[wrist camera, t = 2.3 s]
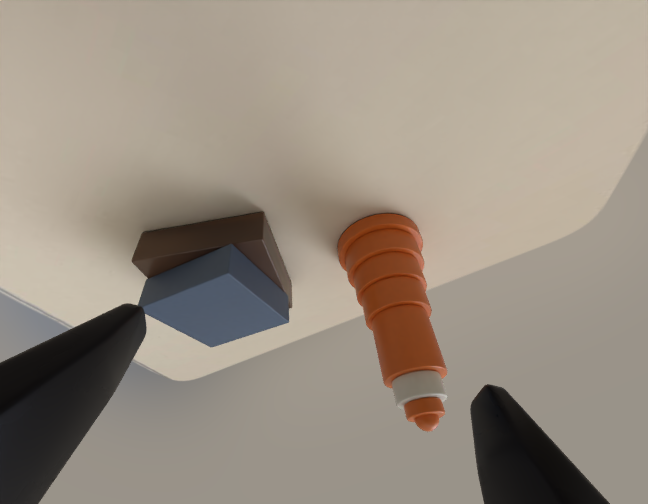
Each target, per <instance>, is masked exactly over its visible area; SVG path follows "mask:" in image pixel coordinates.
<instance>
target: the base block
mask: <svg viewBox="0 0 648 504" xmlns="http://www.w3.org/2000/svg"><path fill="white" fill-rule="evenodd" d="M229 244H233V245H234V246H235V247H236V248H237V249H238V250H239V251H240V252H241V253H242V254H244V255H245V256H246V257H247V258H248V259H249V260H250V261H251V262H252V263H253V264H254V265H256V266H257V267H258V268H259V269H260V270H261V271H262V272H263V273H264V274H265V275H266V276H267V277H269V278H270V279H271V280H272V281H273V282H274V283H275V284H276V285H277V286H278V287H279V288H281V289H282V290H283V291H284V292H285V293H286V294H287V295H288V300H289V308H292V285H291V281H290V278H289V275H288V273H287V270H286V268H285V265H284V263H283V260H282V257H281V255H280V252H279V250H278V247H277V245H276V242H275V239H274V237H273V234H272V232H271V229H270V227H269V224H268V221H267V219H266V216H265V214H264V212H259V213H254V214H248V215H242V216H236V217H231V218H225V219H219V220H213V221H207V222H202V223H196V224H190V225H184V226H179V227H173V228H167V229H161V230H156V231H150V232H144V233H142V234H141V237H140V240H139V242H138V245H137V248H136V250H135V253H134V255H133V258H132V262H133V264H134V265H135V266H136V267H137V268H138V269H139V270H140V271H141V272H142V273H143V274H144V275H145V276H146V277H147V278H148V279H149V278H151V277H154V276H156V275H158V274H161V273H163V272H165V271H168V270H170V269H172V268H175V267H177V266H180V265H182V264H184V263H187V262H189V261H191V260H194V259H196V258H198V257H201V256H203V255H206V254H208V253H210V252H213V251H215V250H217V249H220V248H222V247H224V246H227V245H229Z"/></svg>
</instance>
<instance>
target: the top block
mask: <svg viewBox="0 0 648 504" xmlns="http://www.w3.org/2000/svg"><path fill="white" fill-rule="evenodd" d="M138 306H141V307H143V309H144V312H145V314H147V315H149V316H151V317H153V318H155V319H157V320H159V321H161V322H163V323H165V324H167V325H168V326H170V327H172V328H174V329H176V330H178V331H180V332H182V333H184V334H186V335H188V336H190V337H192V338H194V339H196V340H198V341H200V342H202V343H204V344H205V345H207V346H209V347H215V346H218V345H221V344H224V343H227V342H230V341H233V340H236V339H239V338H242V337H245V336H249V335H252V334H255V333H258V332H261V331H264V330H267V329H270V328H273V327H276V326H279V325H282V324H285V323H288V322H289V300H288V295H287V294H286V293H285V292H284V291H283V290H282V289H281V288H279V287H278V286H277V285H276V284H275V283H274V282H273V281H272V280H271V279H270V278H269V277H267V276H266V275H265V274H264V273H263V272H262V271H261V270H260V269H259V268H258V267H257V266H256V265H254V264H253V263H252V262H251V261H250V260H249V259H248V258H247V257H246V256H245V255H244V254H242V253H241V252H240V251H239V250H238V249H237V248H236V247H235V246H234V245H233V244H229V245H227V246H224V247H222V248H220V249H217V250H215V251H213V252H210V253H208V254H206V255H203V256H201V257H198V258H196V259H194V260H191V261H189V262H187V263H184V264H182V265H180V266H177V267H175V268H172V269H170V270H168V271H165V272H163V273H161V274H158V275H156V276H154V277H151V278H149V279H147V280H146V282H145V285H144V288H143V291H142V294H141V297H140V300H139V303H138Z"/></svg>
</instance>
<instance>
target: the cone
mask: <svg viewBox="0 0 648 504" xmlns="http://www.w3.org/2000/svg"><path fill="white" fill-rule="evenodd" d="M422 247H423V242H422V238H421V235H420V233H419V230H418V228H417V226H416V225H415V223H414V222H413V221H411V220H410V219H408V218H406V217H404V216H401V215H397V214H377V215H373V216H369V217H366V218H364V219H361V220H359V221H357V222H356V223H354V224H353V225H351V226H350V227H349V228H348V229H347V230H346V231H345V232H344V233H343V234H342V236H341V237H340V239H339V242H338V247H337V248H338V256H339V261H340V264H341V266H342V267H343V269H344V270H345V271H347V275H348V280H349V282H350V284H351V285H352V286H353V287H354V288H355V290H356V295H357V300H358V302H359V304H360V305H361V306H362V307H363V310H364V315H365V320H366V325H367V326H368V328H369V329H371V330H372V331H373V334H374V339H375V344H376V348H377V353H378V358H379V363H380V367H381V372H382V376H383V381H384V384H385V386H387V387H389V388H393V392H394V396H395V400H396V405H397V407H398V408H401V409H405V413H406V417H407V420H408V421H410V422H415V423H416V424H417V426H418V427H419V428H420V429H422V430H424V431H432V430H434V429H435V428H436V427H437V426H438V423H439V418H440V417H442V416H443V415H445V411H444V407H443V404H442V402H444V401H445V400H446V399H447V394H446V390H445V387H444V384H443V381H442V378H444V377H445V376H446V375H447V369H446V366H445V363H444V360H443V357H442V354H441V351H440V348H439V345H438V343H437V340H436V337H435V334H434V331H433V328H432V325H431V322H430V319H429V317H430V316H431V311H432V310H431V307H430V304H429V301H428V298H427V296H426V293H425V291H426V288H427V284H426V281H425V278H424V275H423V273H422V271H423V268H424V259H423V257H422V254H421V251H422Z"/></svg>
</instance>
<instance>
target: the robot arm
mask: <svg viewBox="0 0 648 504" xmlns="http://www.w3.org/2000/svg"><path fill="white" fill-rule="evenodd" d="M145 335H146V320H145V312H144V309H143V307H141V306H138V305H133V304H123V305H121V306H119V307H116V308H114V309H112V310H110V311H108V312H106V313H104V314H102V315H100V316H98V317H95V318H93V319H91V320H89V321H87V322H85V323H83V324H81V325H79V326H77V327H74V328H72V329H70V330H68V331H66V332H64V333H62V334H60V335H58V336H56V337H53V338H51V339H49V340H47V341H45V342H43V343H41V344H39V345H37V346H35V347H33V348H30V349H28V350H26V351H24V352H22V353H20V354H18V355H16V356H14V357H11V358H9V359H7V360H5V361H3V362H1V363H0V504H38V503H39V502H40V500H41V499H42V497H43V496H44V494H45V493H46V491H47V490H48V489H49V487H50V485H51V484H52V483H53V481H54V480H55V478H56V477H57V475H58V474H59V473H60V471H61V470H62V468H63V467H64V465H65V464H66V462H67V461H68V459H69V458H70V457H71V455H72V454H73V452H74V451H75V449H76V448H77V446H78V445H79V444H80V442H81V441H82V439H83V438H84V436H85V435H86V433H87V432H88V431H89V429H90V427H91V426H92V425H93V423H94V422H95V420H96V419H97V417H98V416H99V415H100V413H101V411H102V410H103V409H104V407H105V406H106V404H107V403H108V401H109V400H110V398H111V397H112V395H113V393H114V392H115V390H116V388H117V387H118V385H119V383H120V381H121V380H122V378H123V376H124V374H125V372H126V370H127V369H128V367H129V365H130V363H131V361H132V359H133V358H134V356H135V354H136V352H137V350H138V349H139V347H140V345H141V343H142V341H143V339H144V337H145ZM471 420H472V428H473V437H474V445H475V454H476V463H477V469H478V476H479V481H480V486H481V490H482V495H483V500H484V504H610V503H609V502H608V501H607V500H606V499H605V498H604V497H603V496H602V495H601V493H600V492H598V490H597V489H596V488H595V487H594V486H593V485H592V484H591V483H590V482H589V480H588V479H587V478H586V477H585V476H584V475H583V474H582V473H581V472H580V471H579V470H578V468H577V467H576V466H575V465H574V464H573V463H572V462H571V461H570V460H569V459H568V457H567V456H566V455H565V454H564V453H563V452H562V451H561V450H560V449H559V448H558V447H557V445H556V444H554V442H553V441H552V440H551V439H550V438H549V437H548V436H547V435H546V434H545V433H544V431H543V430H542V429H541V428H540V427H539V426H538V425H537V424H536V423H535V421H534V420H533V419H532V418H531V417H530V416H529V415H528V414H527V413H526V412H525V411H524V409H523V408H522V407H521V406H520V405H519V404H518V403H517V402H516V401H515V400H514V399H513V398H512V396H510V395H509V393H508V392H507V391H506V390H505V389H504V388H502V387H498V386H494V385H489V384H487V385H485V386H484V387H483V388H482V389H481V391H480V392H479V393H478V395H477V396H476V397H475V399H474V400H473V401H472V404H471Z"/></svg>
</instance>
